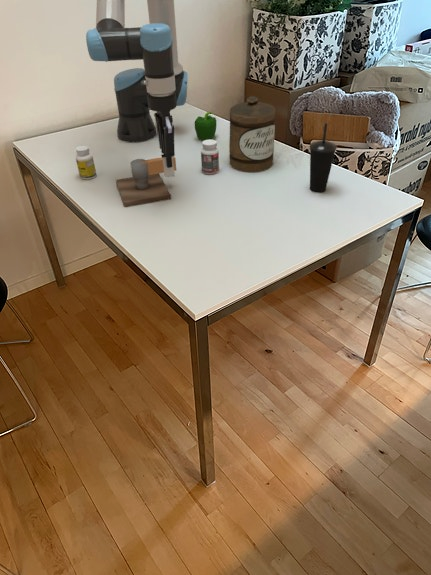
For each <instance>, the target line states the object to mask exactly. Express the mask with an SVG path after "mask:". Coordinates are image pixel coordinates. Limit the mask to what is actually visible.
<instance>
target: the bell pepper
mask: <svg viewBox="0 0 431 575" xmlns="http://www.w3.org/2000/svg"><path fill="white" fill-rule="evenodd" d="M212 113H213V112H212V111H210V110H209V111H207V112H206V113H205V114H204V117H203V116H197V117H196V118H195V120H194V131H195V134H196V137H197V139H198V140H199V141H202V142H203V141H205V140H209V139H211V140H214V138H215V135H216V132H217V119H216V117H213V116H211V115H212Z"/></svg>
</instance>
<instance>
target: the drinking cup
mask: <svg viewBox="0 0 431 575" xmlns="http://www.w3.org/2000/svg"><path fill="white" fill-rule="evenodd" d="M327 128H328V123H324V127H323V134H322V135H323V136H322V139H321V140H316V141H313V142H311V143H310V145H309V149H310V153H309V154H310V155H309V156H310V157H309V158H310V160H309V163H310V164H309V189H310V191H311V192H313V193H318V194H319V193H324V192H326V190H327V185H328V183H329V178H330V174H331V168H332V165H333V160H334V157H335V152H336V150H337V149H338V148H337V147H338V146H337V144H335V143H334V142H331V141H330V140H329V141H328V140H326V136H327Z"/></svg>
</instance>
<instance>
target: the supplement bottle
mask: <svg viewBox="0 0 431 575" xmlns="http://www.w3.org/2000/svg"><path fill="white" fill-rule="evenodd" d="M75 153H76V155H75V161H76V165H77V170H78V173H79V174H78V175H79V178H81V179H82V180H93V179H95V178H96V177H97V169H96V165H95V160H94V156H93V154H92V153H91V152H90V148H89V146H88V145H79V146H76V148H75Z"/></svg>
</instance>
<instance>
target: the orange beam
mask: <svg viewBox="0 0 431 575" xmlns="http://www.w3.org/2000/svg"><path fill="white" fill-rule="evenodd" d="M176 160H177V159H176V157H175V156H173V164H174V172H175V171H177V161H176ZM129 164H130V170H131V175H132V176H131V177H134V178H138V179H141V178H145V177H147V176H148V175H152V174H158V173H159V174H164V167H163V158H162V156H161V157H155V158H149V159H145V158H137V159H133V160H131V161H130V163H129Z"/></svg>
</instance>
